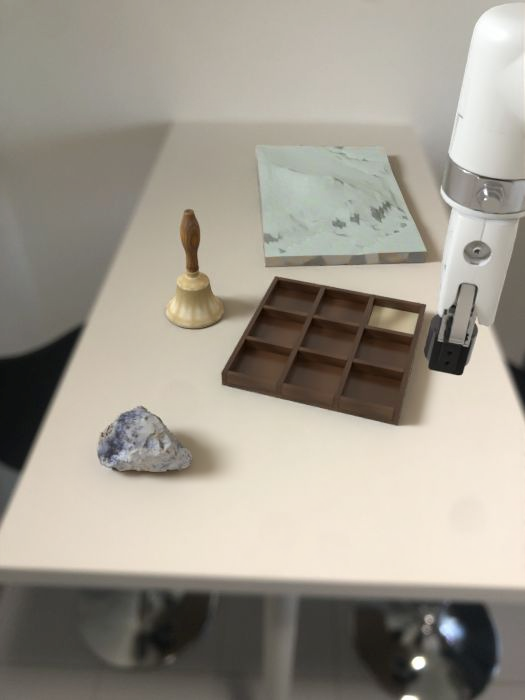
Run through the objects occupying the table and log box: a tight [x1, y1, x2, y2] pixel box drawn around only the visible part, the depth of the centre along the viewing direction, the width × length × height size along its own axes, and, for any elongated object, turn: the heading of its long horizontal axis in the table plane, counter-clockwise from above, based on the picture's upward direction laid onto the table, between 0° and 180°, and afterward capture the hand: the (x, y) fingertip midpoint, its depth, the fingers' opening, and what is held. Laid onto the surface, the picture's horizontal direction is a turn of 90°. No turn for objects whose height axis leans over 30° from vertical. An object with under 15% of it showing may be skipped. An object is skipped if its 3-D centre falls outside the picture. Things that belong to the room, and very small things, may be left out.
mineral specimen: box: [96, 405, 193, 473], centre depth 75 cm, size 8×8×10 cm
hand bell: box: [165, 208, 225, 330], centre depth 91 cm, size 8×8×16 cm
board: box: [220, 275, 427, 426], centre depth 89 cm, size 22×22×2 cm
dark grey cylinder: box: [423, 313, 479, 367], centre depth 64 cm, size 4×4×4 cm
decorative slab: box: [255, 143, 428, 268], centre depth 118 cm, size 38×27×5 cm
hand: (447, 351), depth 65 cm, fingers closed on dark grey cylinder, 4 cm apart
